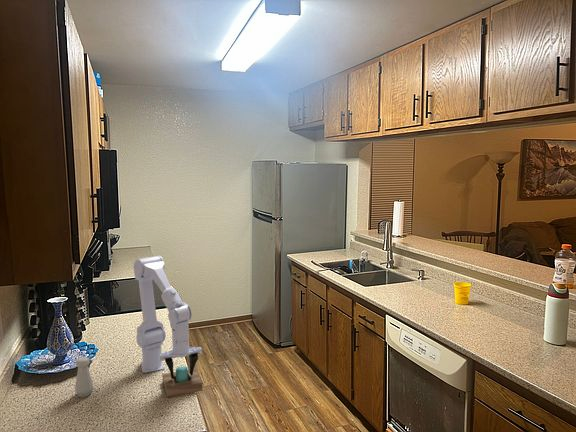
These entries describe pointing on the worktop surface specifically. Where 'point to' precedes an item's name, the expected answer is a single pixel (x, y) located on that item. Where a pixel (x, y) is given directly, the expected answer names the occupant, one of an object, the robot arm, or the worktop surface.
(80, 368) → the salt shaker
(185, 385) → the socket block
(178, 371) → the teal pin
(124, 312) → the worktop surface
